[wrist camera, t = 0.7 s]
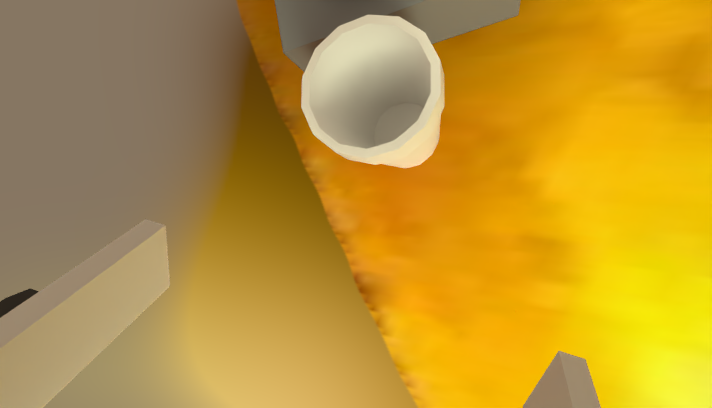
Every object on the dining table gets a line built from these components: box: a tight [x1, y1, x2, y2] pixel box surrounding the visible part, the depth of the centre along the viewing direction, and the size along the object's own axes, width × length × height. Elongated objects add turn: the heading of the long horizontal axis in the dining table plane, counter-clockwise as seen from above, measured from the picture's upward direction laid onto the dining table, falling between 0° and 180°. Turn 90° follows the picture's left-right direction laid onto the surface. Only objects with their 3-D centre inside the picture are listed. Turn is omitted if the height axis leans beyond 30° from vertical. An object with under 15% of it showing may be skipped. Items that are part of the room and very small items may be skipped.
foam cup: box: [301, 15, 444, 168], centre depth 32 cm, size 10×9×13 cm
